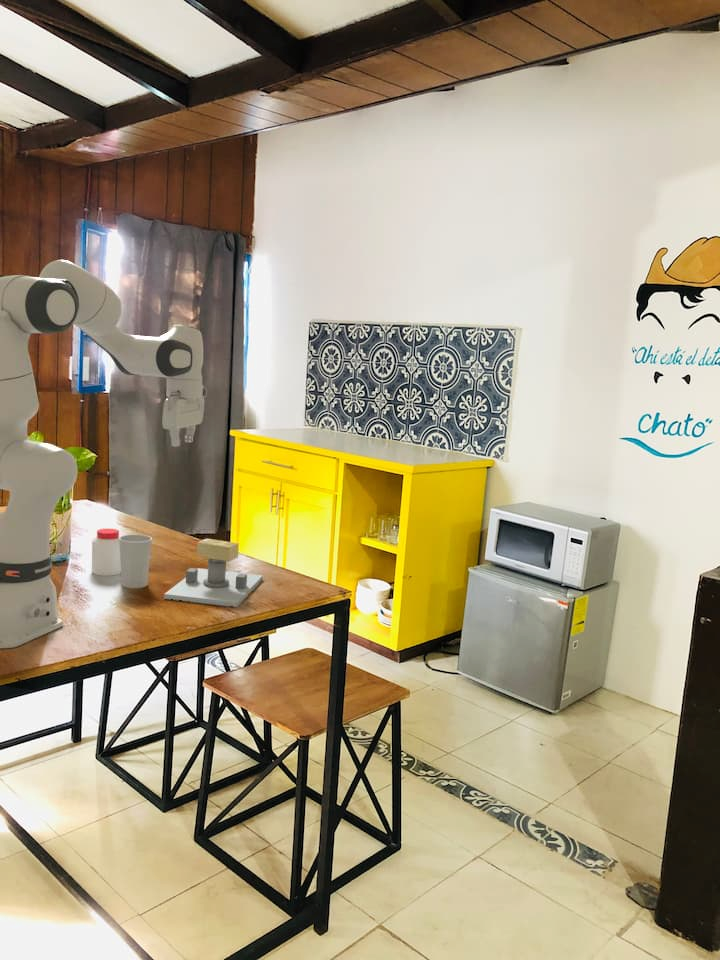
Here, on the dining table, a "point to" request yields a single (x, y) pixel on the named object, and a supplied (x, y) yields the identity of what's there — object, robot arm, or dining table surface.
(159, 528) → the dining table surface
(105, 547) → the pill bottle
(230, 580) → the base
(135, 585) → the cup
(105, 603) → the dining table surface
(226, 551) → the tan parcel with label
